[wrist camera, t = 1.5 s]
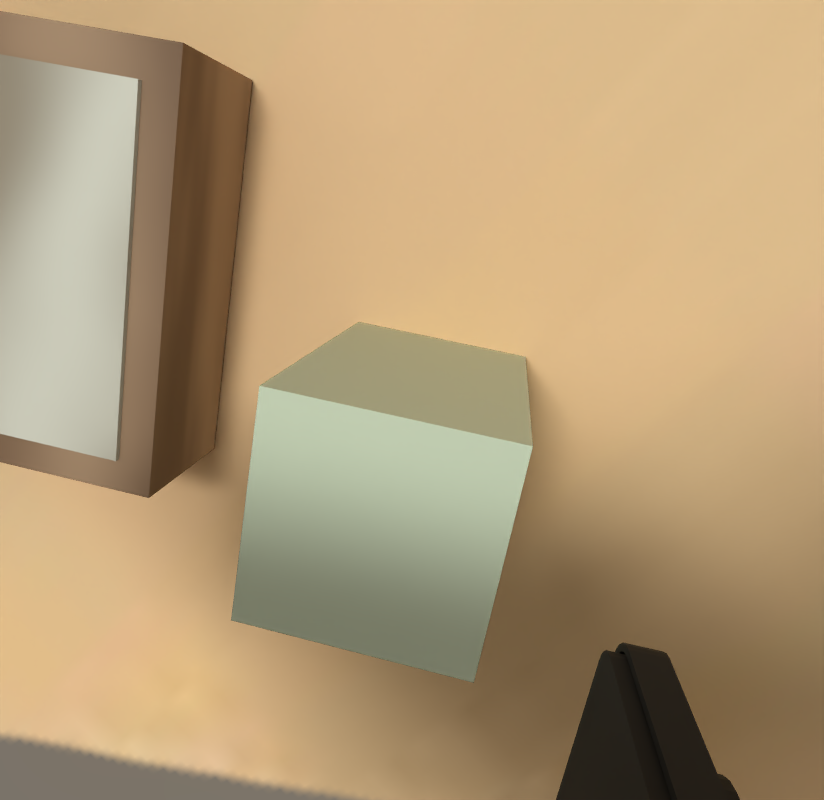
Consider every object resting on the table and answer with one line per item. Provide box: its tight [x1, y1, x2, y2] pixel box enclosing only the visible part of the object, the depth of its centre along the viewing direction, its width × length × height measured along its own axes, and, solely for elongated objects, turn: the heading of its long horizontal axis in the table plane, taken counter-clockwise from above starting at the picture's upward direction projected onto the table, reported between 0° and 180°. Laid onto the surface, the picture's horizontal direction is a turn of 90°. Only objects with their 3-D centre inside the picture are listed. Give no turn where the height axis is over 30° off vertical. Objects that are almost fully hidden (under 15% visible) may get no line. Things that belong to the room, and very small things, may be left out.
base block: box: [0, 11, 252, 498], centre depth 18 cm, size 11×11×4 cm
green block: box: [231, 322, 533, 683], centre depth 16 cm, size 5×5×8 cm
